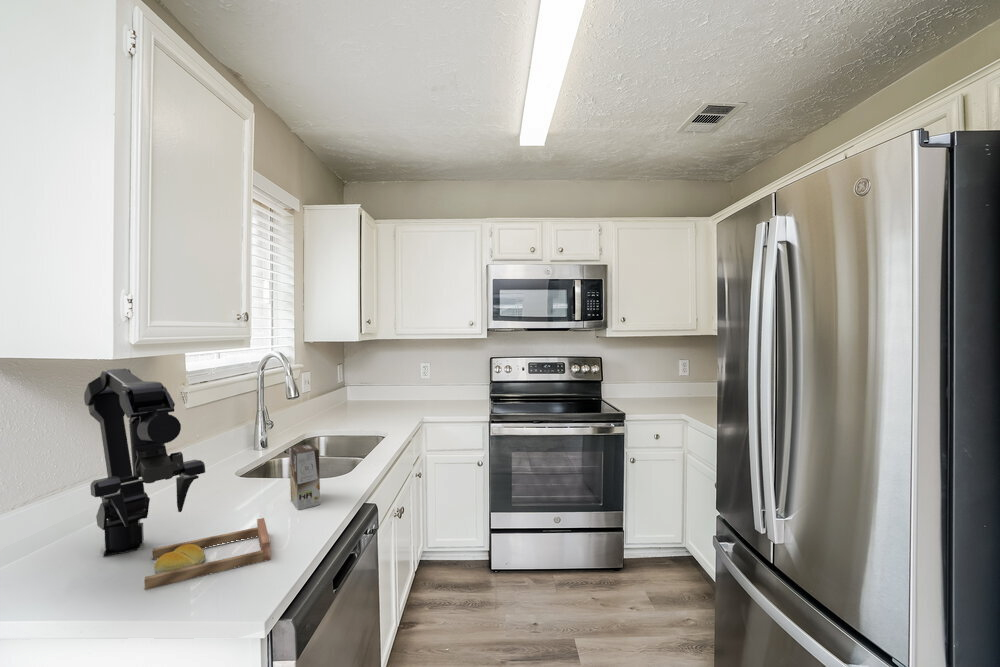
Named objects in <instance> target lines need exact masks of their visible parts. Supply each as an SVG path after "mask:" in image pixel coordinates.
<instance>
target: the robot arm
mask: <svg viewBox="0 0 1000 667" xmlns="http://www.w3.org/2000/svg"><path fill="white" fill-rule="evenodd" d="M83 395H84V396H83V398H84V404H85V406H86V407H88V411H89V412H88V413H89V415H90V416H91V417H92V418H94V419H95V421H97V422H98V423H99V426H100V431H101V432H100V433H101V440H102V446H103V453H104V460H105V467H106V468H105V469H106V473H107V477H105V478H103V477H102V478H100V479H99V478H98V479H95V480H92V481H91V483H90V495H91V496H92V497H94V498H100V499H101V503H100V504H99V507H98V510H97V512H96V516H95V517H96V523H97V527H98V528H100V529H101V530H102V531H104V552H103V554H102V555H103V556H102V557H107V556H113V555H116V554H117V555H118V554H122V553H126V552H127V553H128V552H132V551H136V550H139V549H140V548H141V547H140V546H141V545H142V544H143V542H144V541H145V540H144V537H145V536H144V522H141V520H144V519H147V518H148V515H149V509H150V508H149V507H150V502H151V499H150V497H149V495H148V493H147V492H146V491H145V486H144V483H145V484H154V483H156V482H158V481H162V480H167V481H168V480H170V479H173V477H176V476H178V477H176V478H175V480H176V481H175V483H176V505H177V512H178V513H181V512H182V511H183V509H184V505H185V501H186V497H187V494H188V491H189V489H190V486H191V485H192V483H193V482H194V481H195V480H197V479H199V478H200V476H199V475H202V474H205V473H206V466H205V462H204V461H202V460H199V459H192V460H185V461H184V457H183V453H182V451H177V452H176V451H175V452H172V453H170V455H168V452H167V449H166V448H167V447H166V444H168V443H170V442H173V441H174V440H175V439H176V438H177V437H178V436H179V435H180V432H181V430H182V425H181V422H180V420H179V418H177V417H176V416H174V415H172V414H170V413H173V412H175V405H176V404H175V402H174V400H173V398H172V396H171V394H170V392H169V391H168V389H167V387H166V386H164V385H163V383H161V382H160V381H145V380H142V379H141V378H139V377H138V376H137V375H135V374H133V373H132V372H131V370H130V369H129V368H128V369H127V368H114V369H113V368H111V369H106V370H102V371H101V373H100V376H98V377H97V378H95V379H94V380H92V381H90V382H88V384H87V386H86V388H85V391H84V394H83ZM125 416H126V418H127V419H129V420H128V423H129V424H128V426H129V427H128V428H129V440H130V450H129V442H128V437H127V429H126V424H125ZM130 451H131V452H130ZM130 453H131V457H130Z"/></svg>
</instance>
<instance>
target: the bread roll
mask: <svg viewBox="0 0 1000 667" xmlns="http://www.w3.org/2000/svg"><path fill="white" fill-rule="evenodd" d="M206 559H207V557H206V553H205V551H204V549H202V548H200V547H199V546H197V545H194V544H186V545H182V546H180V547H178V548H177V549H175V550H174V551H173V552H168V553H165V554H163V555H162V556H160V557H159V558H158V559H156V561H155V562H154V571H155V573H156V574H160V573H164V572H169V571H173V570H178V569H182V568H186V567H191V566H195V565H199V564H203V563H202V562H203V561H204V562H205V560H206Z"/></svg>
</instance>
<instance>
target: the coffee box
mask: <svg viewBox="0 0 1000 667" xmlns="http://www.w3.org/2000/svg"><path fill="white" fill-rule="evenodd" d="M288 449H289V482H290V483H289V484H290V485H289V486H290V502H291V503H292V505H293V506H295V508H296V509H297V510H299V511H300V510H304V509H308V508H307V507H309V508H312V507H311V506H313V507H316V506H315V505H317V506H320V505H321V486H320V485H321V483H320V482H321V480H320V475H321V474H320V450H319V448H317V447H316V446H315V445H313V444H312V443H306V444H300V445H296V446H290V447H289V448H288ZM319 504H320V505H319Z"/></svg>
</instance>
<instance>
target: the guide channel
mask: <svg viewBox="0 0 1000 667" xmlns="http://www.w3.org/2000/svg"><path fill="white" fill-rule="evenodd" d="M256 522H257V526H256V527H253V528H248V529H243V530H238V531H233V532H232V531H231V532H228V533H223V534H218V535H214V536H208V537H204V538H198V539H194V540H188V541H184V542H179V543H174V544H169V545H165V546H160V547H155V548H152V555H151V556H152V560H153V559H154V560H158V559H157V558H159V557H160V556H162V555H163V554H165V553H168V552H173V551H174V550H175V549H177V548H178V547H180V546H182V545H186V544H194V545H197V546H199V547H200V548H205V547H209V546H213V545H217V544H222V543H227V542H231V541H236V540H241V539H247V538H251V537H256V536H258V537H256V538H257V540H258V543H260V544H259V548H261V549H260V550H257V551H252V552H247V553H243V554H239V555H235V556H232V557H231V556H230V557H227V558H226V557H225V558H223V559H218V560H213V561H209V562H204V563H201V564H199V565H195V566H191V567H186V568H182V569H178V570H173V571H169V572H164V573H160V574H157V573H156V574H151V575H147V576H144V590H149V589H153V588H158V587H162V586H167V585H170V584H173V583H178V581H179V582H182V581H186V579H187V580H191V579H195V578H194V577H196V578H198V577H197V576H200V577H203V576H202V575H204V576H207V574H208V575H211V574H210V573H212V574H216V573H220V572H219V571H221V572H223V570H225V571H228V570H227V569H229V570H232V569H231V568H233V569H235V568H234V567H237V568H239V567H238V566H242V567H244V566H243V565H246V566H249V565H248V564H250V565H254V564H257V562H258V563H261V562H262V561H263V562H266V561H265V560H267V561H270V559H271V539H270V536H269V533H268V529H267V524H266V520H265V518H264V517H262V518H258V519H257V520H256ZM247 540H248V539H247ZM205 549H206V548H205ZM263 562H262V563H263ZM253 563H254V564H253Z"/></svg>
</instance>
